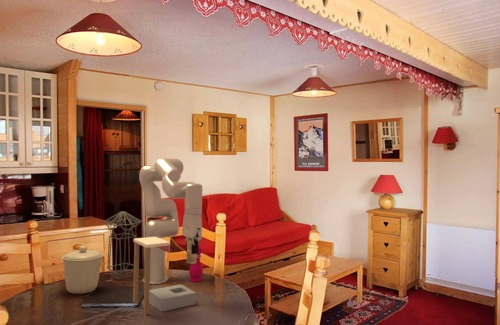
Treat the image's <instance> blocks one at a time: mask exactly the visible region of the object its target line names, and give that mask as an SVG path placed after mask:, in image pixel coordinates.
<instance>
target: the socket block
mask: <svg viewBox="0 0 500 325" xmlns="http://www.w3.org/2000/svg"><path fill="white" fill-rule="evenodd" d="M196 296H197V292H195V291H194V290H192V289H190V288H189V287H187V286H185V285H183V284H176V285H175V284H174V285H172V286H171V285H169V286H165V287H160V288H159V287H158V288H154V289H149V305H152V306H153V307H154V308H155V309H157V310H158V311H159V312H161V313H162V312H167V311H170V310H175V309H180V308H185V307H188V306H193V305H196V300H197V297H196Z"/></svg>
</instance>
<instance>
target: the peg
mask: <svg viewBox="0 0 500 325" xmlns="http://www.w3.org/2000/svg"><path fill="white" fill-rule="evenodd" d="M196 237H197V236H195V237H194V238H196ZM195 240H196V239H195ZM186 243H187V252H186V264H190V265H192V264H194V263H197V254H191V249H192V245H193V244H192V238H188V237H187V242H186Z"/></svg>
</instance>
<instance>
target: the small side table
mask: <svg viewBox="0 0 500 325" xmlns="http://www.w3.org/2000/svg"><path fill="white" fill-rule="evenodd" d="M133 245H134V249H133V251H134V252H133V253H134V254H133V265H134V266H133V269H134V272H133V284H132V285H133V288H132V290H133V291H132V294H133V296H132V303H133V302H134V304H135V303H138V304H139V282H140V281H139V279H140V278H139V276H140V275H139V274H140V270H139V268H140V246H142V247H144V277H143V279H144V282H143V284H144V285H143V315H144V316H147V315H149V314H150V303H149V290H150V285H151V284H150V247H157V248H159V249H161V250H163V251H166V253H168V254H169V253H170V252H171V242H170V241H168V240H165V239H164V238H161V239H160V238H158V237H147V238H146V237H137V238H135V239H134V238H133Z"/></svg>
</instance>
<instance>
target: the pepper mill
mask: <svg viewBox="0 0 500 325" xmlns="http://www.w3.org/2000/svg"><path fill="white" fill-rule="evenodd" d="M202 253H203V248H202V246H201V245H199V246H198V254H197V263H194V264H190V267H189V270H188V274H189V281H190V282H191V283H200V282H202V280H203V278H202V276H203V273H204V272H203V271H204V270H203V267H202V264H201V258H202Z"/></svg>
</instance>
